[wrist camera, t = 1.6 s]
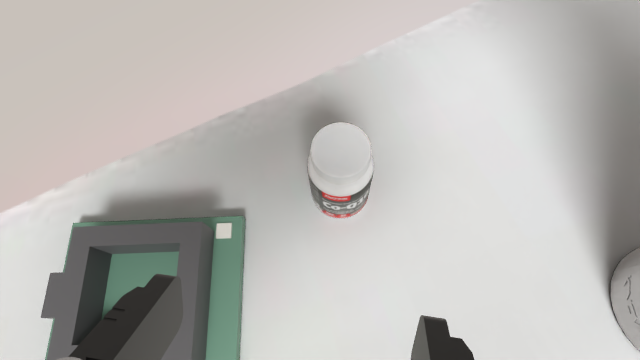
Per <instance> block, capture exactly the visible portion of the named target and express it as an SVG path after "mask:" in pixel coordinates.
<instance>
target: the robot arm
mask: <svg viewBox="0 0 640 360" xmlns="http://www.w3.org/2000/svg"><path fill="white" fill-rule="evenodd" d="M611 301H612V307H613V311H614V313H615V316H616V318H617V321H618V323H619V325H620V327H621V328H622V330H623V332H624V333H625V335H626V336H627V338H628V339H629V340H630V341H631V342H632V344H633V345H634V346H635V347H636V348H637V349H638V350H639V351H640V248H637V249H636V250H634V251H632V252H630V253H628V254H627V255H626V256H625V257H624V258H623V259H622V260H621V261H620V262H619V264H618V266H617V267H616V269H615V271H614V274H613V277H612V281H611ZM182 319H183V300H182V286H181V279H180V277H177V276H170V275H164V274H155V275H154V276H153V277H152V278H151V280H150V281H149V282H148V283H147V284H146V286H145V287H138V286H137V287H136V288H134V289H133V290H131V291H129V292H128V293H126V294H125V295H123V296H122V297H121V298H120V299H119V300H118V301H117V303H116V304H115V305H114V306H113V307H112V310H109V312H108V313H107V314H106V315H105V316H104V318H103V320H101V321H100V322H99V323H98V324H97V325H96V326H95V327H94V328H93V330H92V331H91V332H90V333H89V334H88V335H87V336H86V337H85V339H84V340H83V341H82V342H81V343H80V344H79V345H78V346H77V348H76V349H75V350H74V351H73V352H72V353H71V354H70V355H69V356H68V357H65V358H60V359H56V360H161V359H162V357H163V355H164V354H165V352H166V351H167V349H168V347H169V346H170V344H171V342H172V341H173V339H174V337H175V336H176V334H177V333H178V331H179V329H180V326H181V323H182ZM411 360H474V357H473V354H472V352H471V351H470V349H469V348H468V347H467V345H466V344H465V343H464V341H463V340H462V339H460V338H454V337H450V334H449V330H448V325H447V322H446V320H445V319H442V318H436V317H430V316H423V315H421V317H420V320H419V324H418V328H417V332H416V336H415V340H414V344H413V349H412V354H411Z"/></svg>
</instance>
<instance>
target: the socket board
mask: <svg viewBox="0 0 640 360" xmlns="http://www.w3.org/2000/svg"><path fill="white" fill-rule="evenodd" d="M244 237H245V218H244V217H243V216H228V217H204V218H180V219H156V220H132V221H108V222H84V223H73V226H72V231H71V236H70V240H69V245H68V250H67V255H66V260H65V265H64V270H63V272H62V273H50V277H49V282H48V286H47V291H46V296H45V300H44V305H43V309H42V314H41V318H53V324H52V329H51V333H50V338H49V343H48V348H47V353H46V358H45V360H56V359H60V358H65V357H68V356H69V355H70V354H71V353H72V352H73V351H74V350H75V349H76V348H77V346H78V345H79V344H80V343H81V342H82V341H83V340H84V339H85V337H86V336H87V335H88V334H89V333H90V332H91V331H92V330H93V328H94V327H95V326H96V325H97V324H98V323H99V322H100V321H101V320H103V318H104V316H105V315H106V314H107V313H108V312H109V310H112V307H113V306H114V305H115V304H116V303H117V301H118V300H119V299H120V298H121V297H122V296H123V295H125V294H126V293H128V292H129V291H131V290H133V289H134V288H136V287H137V286H138V287H145V286H146V284H147V283H148V282H149V281H150V280H151V278H152V277H153V276H154V275H155V274H164V275H170V276H177V277H180V279H181V286H182V300H183V319H182V323H181V326H180V329H179V331H178V333H177V334H176V336H175V337H174V339H173V341H172V342H171V344H170V346H169V347H168V349H167V351H166V352H165V354H164V355H163V357H162V359H161V360H239V358H240V334H241V310H242V285H243V261H244Z"/></svg>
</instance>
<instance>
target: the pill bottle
mask: <svg viewBox="0 0 640 360" xmlns="http://www.w3.org/2000/svg"><path fill="white" fill-rule="evenodd" d="M307 168H308V174H309V180H310V186H311V191H312V197H313V200H314V203H315V204H316V206H317V207H318V209H319V210H320V211H321V212H323V213H324V214H325V215H327V216H330V217H333V218H348V217H351V216H353V215H355V214H357V213H358V212H359V211H360V210H361V209H362V208H363V207H364V205H365V203H366V201H367V199H368V195H369V189H370V184H371V181H372V177H373V170H374V160H373V156H372V153H371V143H370V140H369V138H368V136H367V135H366V133H365V132H364V131H363V130H362V129H360V128H359V127H357V126H356V125H353V124H350V123H346V122H337V123H332V124H329V125H327V126H325V127H323V128H322V129H320V130H319V131H318V132H317V133H316V135H315V136H314V138H313V140H312V143H311V148H310V154H309V157H308V166H307Z"/></svg>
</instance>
